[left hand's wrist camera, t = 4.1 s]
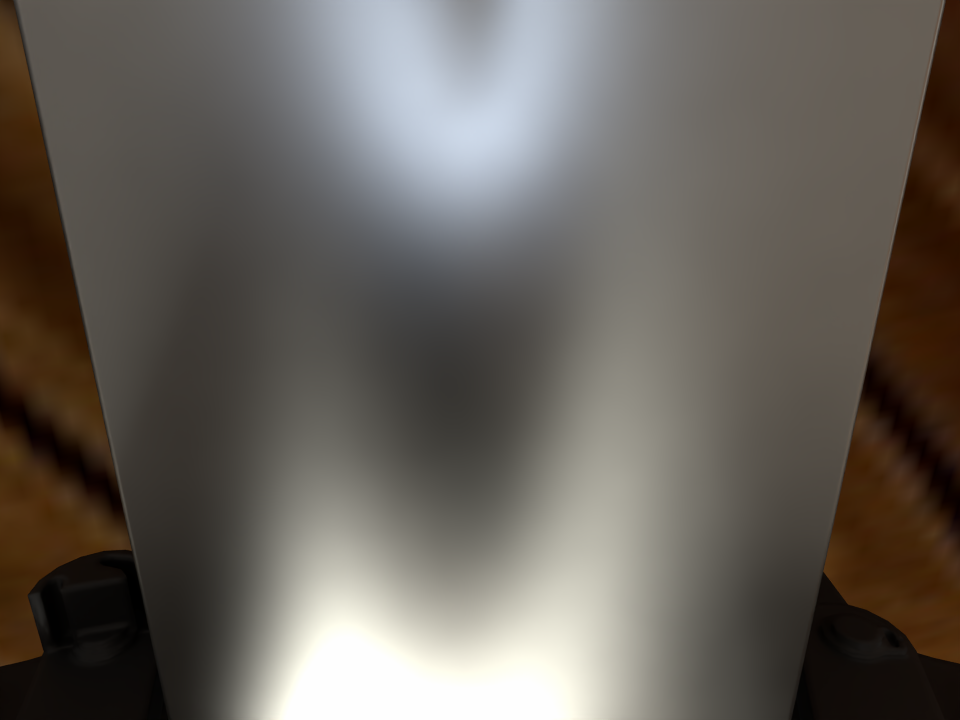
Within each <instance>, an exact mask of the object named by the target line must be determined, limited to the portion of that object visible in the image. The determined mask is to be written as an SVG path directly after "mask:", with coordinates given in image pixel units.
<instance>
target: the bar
mask: <svg viewBox="0 0 960 720" xmlns="http://www.w3.org/2000/svg"><path fill="white" fill-rule="evenodd" d="M945 2H946V0H14V5H15V10H16V14H17V19H18V24H19V28H20V33H21V37H22V42H23V47H24V51H25V56H26V61H27V65H28V70H29V75H30V79H31V84H32V89H33V93H34V98H35V102H36V107H37V112H38V116H39V121H40V126H41V130H42V135H43V140H44V144H45V149H46V154H47V158H48V163H49V167H50V172H51V177H52V181H53V186H54V191H55V195H56V200H57V205H58V209H59V214H60V219H61V223H62V228H63V232H64V237H65V242H66V246H67V251H68V256H69V260H70V265H71V270H72V274H73V279H74V284H75V288H76V293H77V297H78V302H79V307H80V311H81V316H82V321H83V325H84V330H85V335H86V339H87V344H88V349H89V353H90V358H91V362H92V367H93V372H94V376H95V381H96V386H97V390H98V395H99V400H100V404H101V409H102V414H103V418H104V423H105V428H106V432H107V437H108V441H109V446H110V451H111V455H112V460H113V465H114V469H115V474H116V479H117V483H118V488H119V493H120V497H121V502H122V506H123V511H124V516H125V520H126V525H127V530H128V534H129V539H130V544H131V548H132V553H133V558H134V562H135V567H136V571H137V576H138V581H139V585H140V590H141V595H142V599H143V604H144V609H145V613H146V618H147V623H148V627H149V632H150V636H151V641H152V646H153V650H154V655H155V660H156V664H157V669H158V674H159V678H160V683H161V688H162V692H163V697H164V701H165V706H166V711H167V715H168V720H791V718H792V714H793V709H794V704H795V700H796V695H797V690H798V686H799V681H800V676H801V672H802V667H803V662H804V658H805V653H806V649H807V644H808V639H809V635H810V630H811V625H812V621H813V616H814V611H815V607H816V602H817V597H818V593H819V588H820V583H821V579H822V574H823V569H824V565H825V560H826V556H827V551H828V546H829V542H830V537H831V532H832V528H833V523H834V518H835V514H836V509H837V504H838V500H839V495H840V490H841V486H842V481H843V476H844V472H845V467H846V463H847V458H848V453H849V449H850V444H851V439H852V435H853V430H854V425H855V421H856V416H857V411H858V407H859V402H860V397H861V393H862V388H863V384H864V379H865V374H866V370H867V365H868V360H869V356H870V351H871V346H872V342H873V337H874V332H875V328H876V323H877V318H878V314H879V309H880V304H881V300H882V295H883V291H884V286H885V281H886V277H887V272H888V267H889V263H890V258H891V253H892V249H893V244H894V239H895V235H896V230H897V225H898V221H899V216H900V211H901V207H902V202H903V198H904V193H905V188H906V184H907V179H908V174H909V170H910V165H911V160H912V156H913V151H914V146H915V142H916V137H917V132H918V128H919V123H920V119H921V114H922V109H923V105H924V100H925V95H926V91H927V86H928V81H929V77H930V72H931V67H932V63H933V58H934V53H935V49H936V44H937V39H938V35H939V30H940V26H941V21H942V16H943V12H944V7H945Z"/></svg>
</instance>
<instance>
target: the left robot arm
mask: <svg viewBox="0 0 960 720" xmlns="http://www.w3.org/2000/svg"><path fill="white" fill-rule="evenodd" d="M28 598H29V602H30V605H31V608H32V612H33V615H34V619H35V622H36V626H37V629H38V633H39V636H40V640H41V643H42V647H43V650H44V653H43V655H42V656H41V657H37V658H34V659H31V660H27V661H23V662H19V663H14V664H10V665H5V666H1V667H0V720H168V715H167V711H166V706H165V701H164V697H163V692H162V688H161V683H160V678H159V674H158V669H157V664H156V660H155V655H154V650H153V646H152V641H151V636H150V632H149V627H148V623H147V618H146V613H145V609H144V604H143V599H142V595H141V590H140V585H139V581H138V576H137V571H136V567H135V562H134V558H133V553H132V551H129V550H113V551H102V552H98V553H94V554H91V555H87V556H83V557H80V558H77V559H75V560H73V561H71V562H69V563H66V564H64V565H62V566H60V567H58V568H56V569H55V570H53V571H52V572H51V573H49V574H48V575H46V576H45V577H44V578H42V579H41V580H39V582H38V583H37V584H36V585H35V587H34V588H33V589H32V590H31V592H30V593H29V594H28ZM791 720H960V664H958V663H954V662H950V661H945V660H941V659H936V658H932V657H929V656H925V655H922V654H919V653H917V652H916V650H915V648H914V647H913V646H912V644H911V643H910V641H909V640H908V638H907V637H906V635H905V634H903V633H902V632H901V631H900V630H898V629H897V628H896V627H895V626H893V625H892V624H891V623H890V622H888V621H887V620H885V619H883V618H881V617H879V616H877V615H875V614H873V613H871V612H869V611H867V610H865V609H861V608H858V607H854V606H851V605H848V604H847V603H846V601H845V600H844V599H843V597H842V596H841V595H840V593H839V592H838V591H837V589H836V588H835V587H834V585H833V584H832V583H831V581H830V580H829V579H828V578H827V576H826V575H825V574H824V572H823V574H822V579H821V583H820V588H819V593H818V597H817V602H816V607H815V611H814V616H813V621H812V625H811V630H810V635H809V639H808V644H807V649H806V653H805V658H804V662H803V667H802V672H801V676H800V681H799V686H798V690H797V695H796V700H795V704H794V709H793V714H792V718H791Z"/></svg>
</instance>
